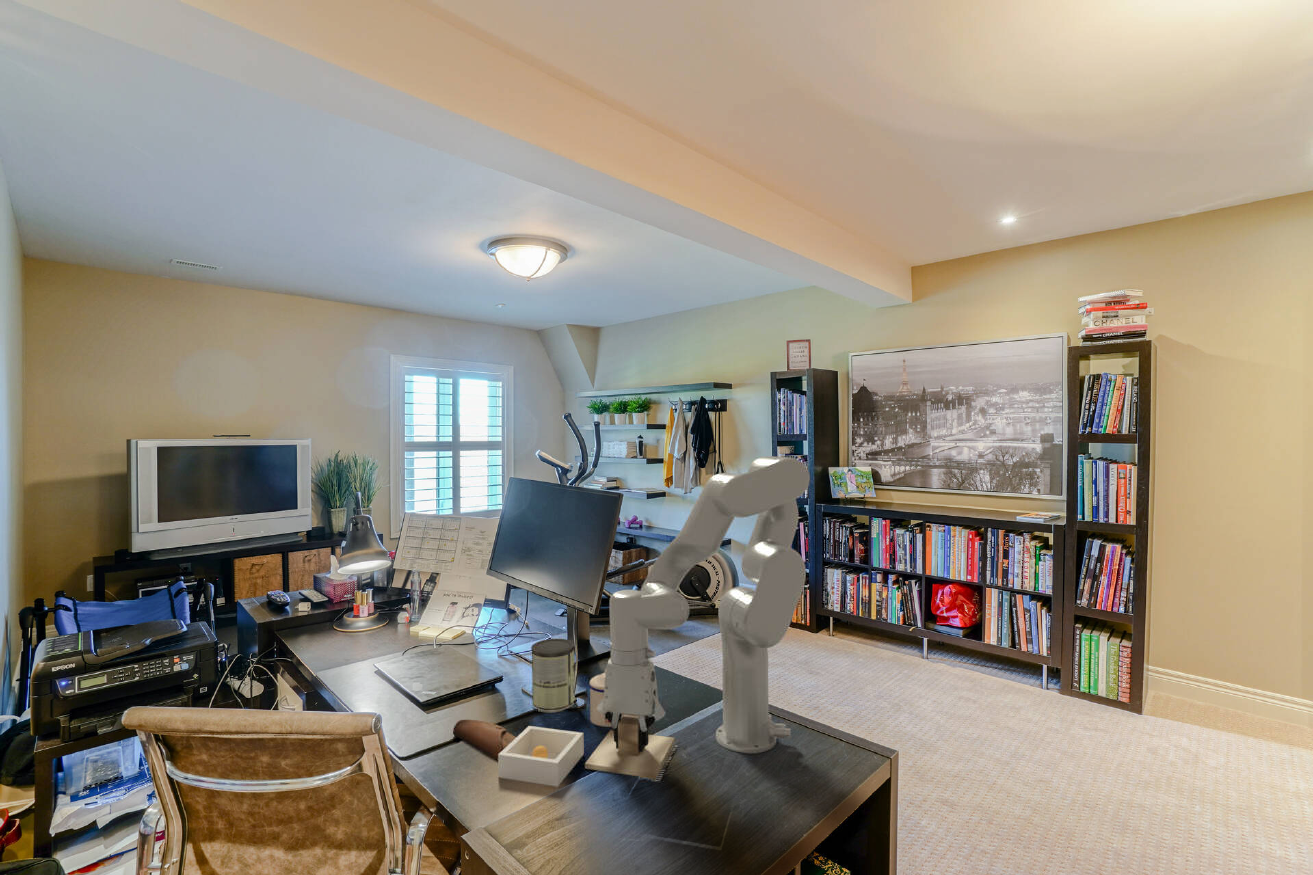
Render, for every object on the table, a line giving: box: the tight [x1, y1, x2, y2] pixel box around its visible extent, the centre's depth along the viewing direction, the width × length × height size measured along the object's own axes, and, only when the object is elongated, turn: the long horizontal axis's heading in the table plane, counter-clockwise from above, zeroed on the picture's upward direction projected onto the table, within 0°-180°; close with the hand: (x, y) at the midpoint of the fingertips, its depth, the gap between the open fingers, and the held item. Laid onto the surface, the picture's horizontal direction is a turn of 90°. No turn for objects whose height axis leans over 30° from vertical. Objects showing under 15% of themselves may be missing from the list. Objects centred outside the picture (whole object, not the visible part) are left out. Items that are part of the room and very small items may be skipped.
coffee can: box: [530, 638, 576, 714], centre depth 150 cm, size 10×10×14 cm
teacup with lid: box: [588, 669, 628, 728], centre depth 141 cm, size 12×9×12 cm
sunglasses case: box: [452, 719, 517, 761], centre depth 130 cm, size 18×7×7 cm, turn 48°
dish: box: [497, 725, 585, 788], centre depth 120 cm, size 12×12×5 cm
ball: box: [532, 746, 548, 758], centre depth 121 cm, size 3×3×3 cm
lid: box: [584, 715, 676, 780], centre depth 123 cm, size 14×14×7 cm
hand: (631, 745), depth 123 cm, fingers closed on lid, 4 cm apart
